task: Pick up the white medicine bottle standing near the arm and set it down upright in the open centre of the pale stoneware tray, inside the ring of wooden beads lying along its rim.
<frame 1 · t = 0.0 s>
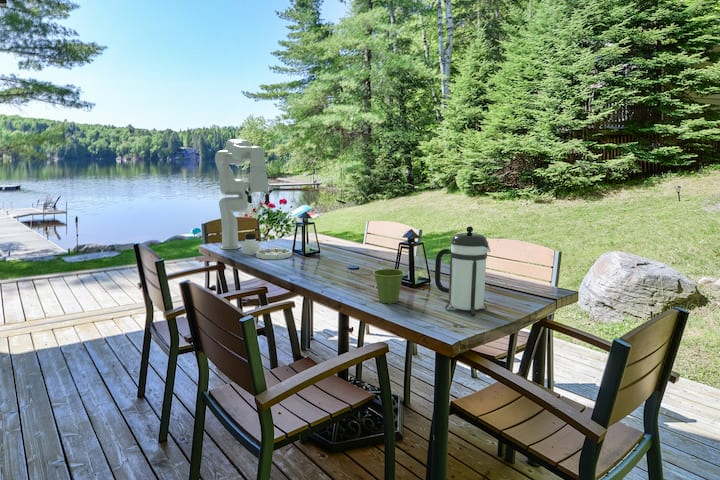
hand: (258, 202, 232), 31 cm above the table, tool pointing down, fingers open, 9 cm apart
plant pot: (388, 301, 164), on the table
coffee press: (462, 309, 155), on the table
tray: (274, 255, 248), on the table
medicine bottle: (250, 253, 255), on the table
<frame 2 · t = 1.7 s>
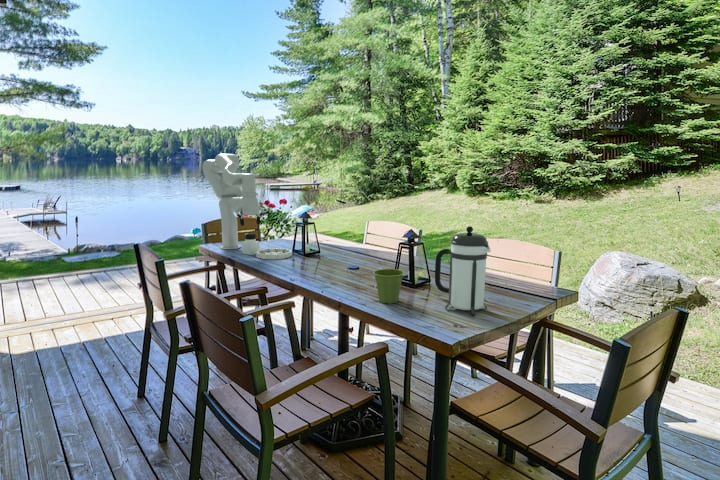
hand: (250, 224, 251), 17 cm above the table, tool pointing down, fingers open, 9 cm apart
nothing on the table moved.
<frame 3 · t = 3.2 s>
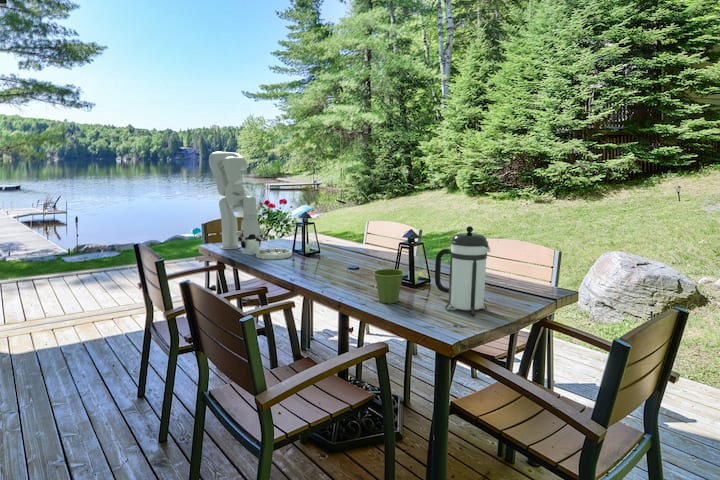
hand: (251, 247, 254), 4 cm above the table, tool pointing down, fingers closed on medicine bottle, 8 cm apart
medicine bottle: (250, 253, 255), on the table, touching gripper
everything else where it was.
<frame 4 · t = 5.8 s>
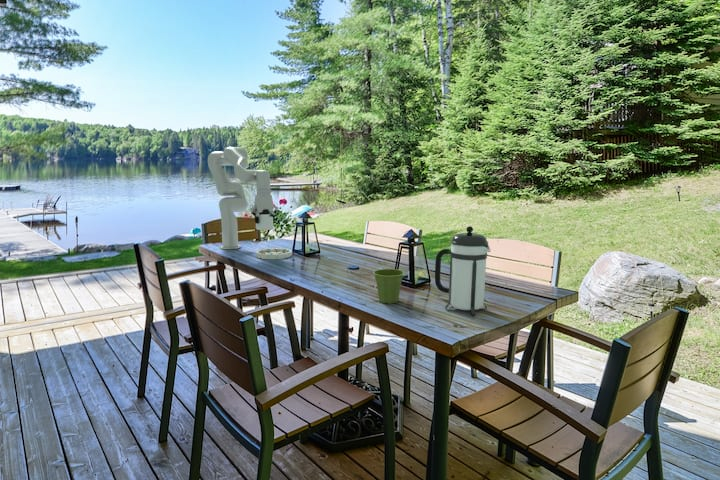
hand: (264, 222, 247), 19 cm above the table, tool pointing down, fingers closed on medicine bottle, 8 cm apart
medicine bottle: (264, 229, 248), point 15 cm above the table, touching gripper
everything else where it was.
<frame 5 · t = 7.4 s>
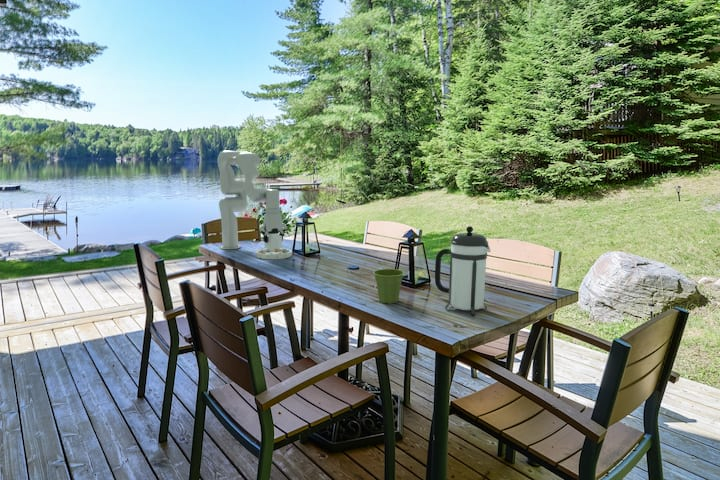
hand: (273, 241, 247), 8 cm above the table, tool pointing down, fingers closed on medicine bottle, 8 cm apart
medicine bottle: (273, 248, 248), point 4 cm above the table, touching gripper
everything else where it was.
when the fingers open (5 cm above the table, at t = 8.8 s): medicine bottle stays where it is, resting on tray.
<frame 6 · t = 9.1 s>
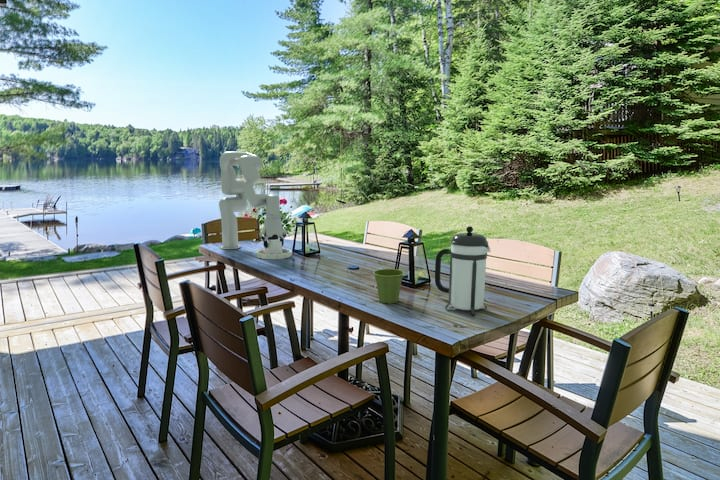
hand: (273, 246, 247), 5 cm above the table, tool pointing down, fingers open, 9 cm apart
medicine bottle: (273, 254, 248), point 1 cm above the table, touching tray
everything else where it was.
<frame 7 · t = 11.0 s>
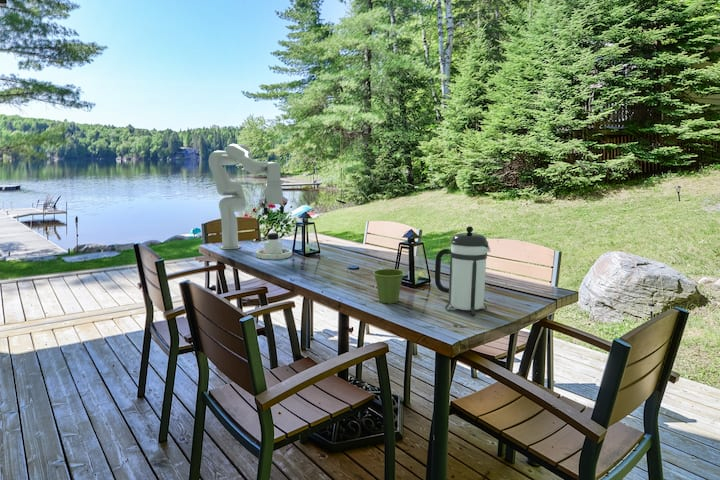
hand: (274, 214, 249), 23 cm above the table, tool pointing down, fingers open, 9 cm apart
nothing on the table moved.
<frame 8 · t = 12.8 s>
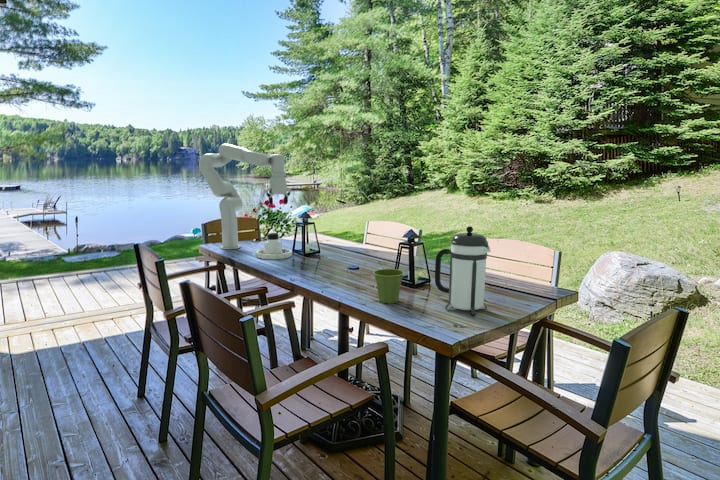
hand: (278, 203, 262), 28 cm above the table, tool pointing down, fingers open, 9 cm apart
nothing on the table moved.
at the end: medicine bottle 0.5 cm from the tray (horizontally); medicine bottle tilted 0°; the gripper is holding nothing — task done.
